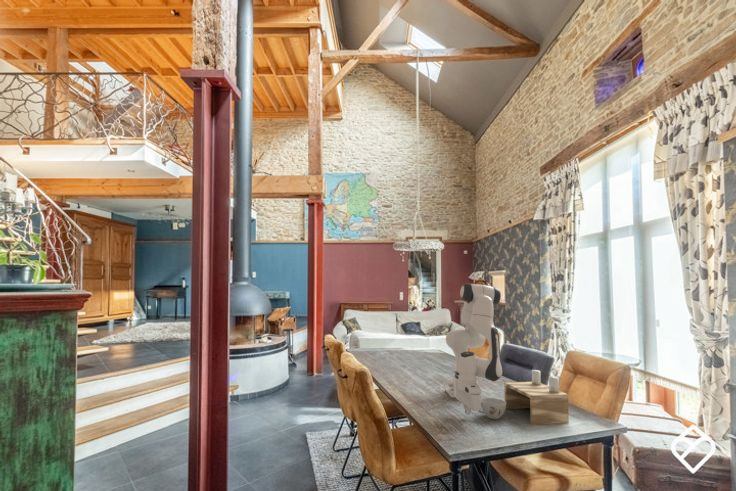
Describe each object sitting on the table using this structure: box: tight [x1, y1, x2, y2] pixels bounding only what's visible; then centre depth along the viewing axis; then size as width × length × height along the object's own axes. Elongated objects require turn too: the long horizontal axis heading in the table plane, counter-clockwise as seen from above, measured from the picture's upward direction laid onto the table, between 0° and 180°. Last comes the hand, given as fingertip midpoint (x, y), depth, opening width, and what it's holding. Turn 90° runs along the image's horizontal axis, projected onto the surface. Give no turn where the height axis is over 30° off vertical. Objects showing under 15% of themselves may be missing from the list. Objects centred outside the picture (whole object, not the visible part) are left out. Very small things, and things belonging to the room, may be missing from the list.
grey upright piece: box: [548, 375, 560, 393], centre depth 192 cm, size 4×4×7 cm
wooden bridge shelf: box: [503, 381, 570, 426], centre depth 197 cm, size 24×20×14 cm
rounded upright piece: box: [531, 369, 542, 385], centre depth 206 cm, size 4×4×7 cm
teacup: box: [478, 397, 507, 420], centre depth 191 cm, size 15×12×8 cm
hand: (467, 414), depth 189 cm, fingers closed
